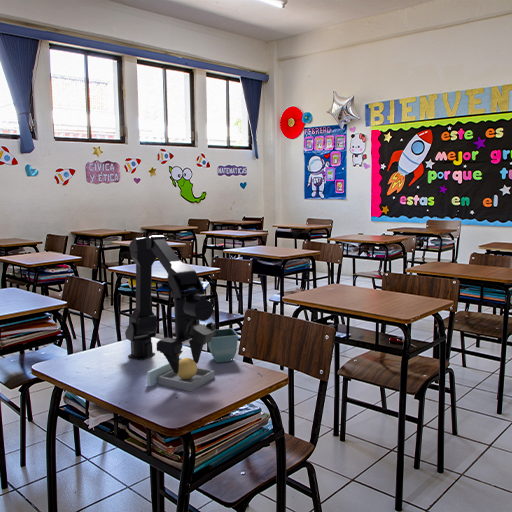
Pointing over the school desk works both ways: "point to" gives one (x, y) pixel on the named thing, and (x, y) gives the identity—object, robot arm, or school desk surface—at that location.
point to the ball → (187, 368)
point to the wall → (158, 373)
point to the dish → (189, 384)
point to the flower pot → (223, 345)
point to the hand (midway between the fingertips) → (186, 368)
